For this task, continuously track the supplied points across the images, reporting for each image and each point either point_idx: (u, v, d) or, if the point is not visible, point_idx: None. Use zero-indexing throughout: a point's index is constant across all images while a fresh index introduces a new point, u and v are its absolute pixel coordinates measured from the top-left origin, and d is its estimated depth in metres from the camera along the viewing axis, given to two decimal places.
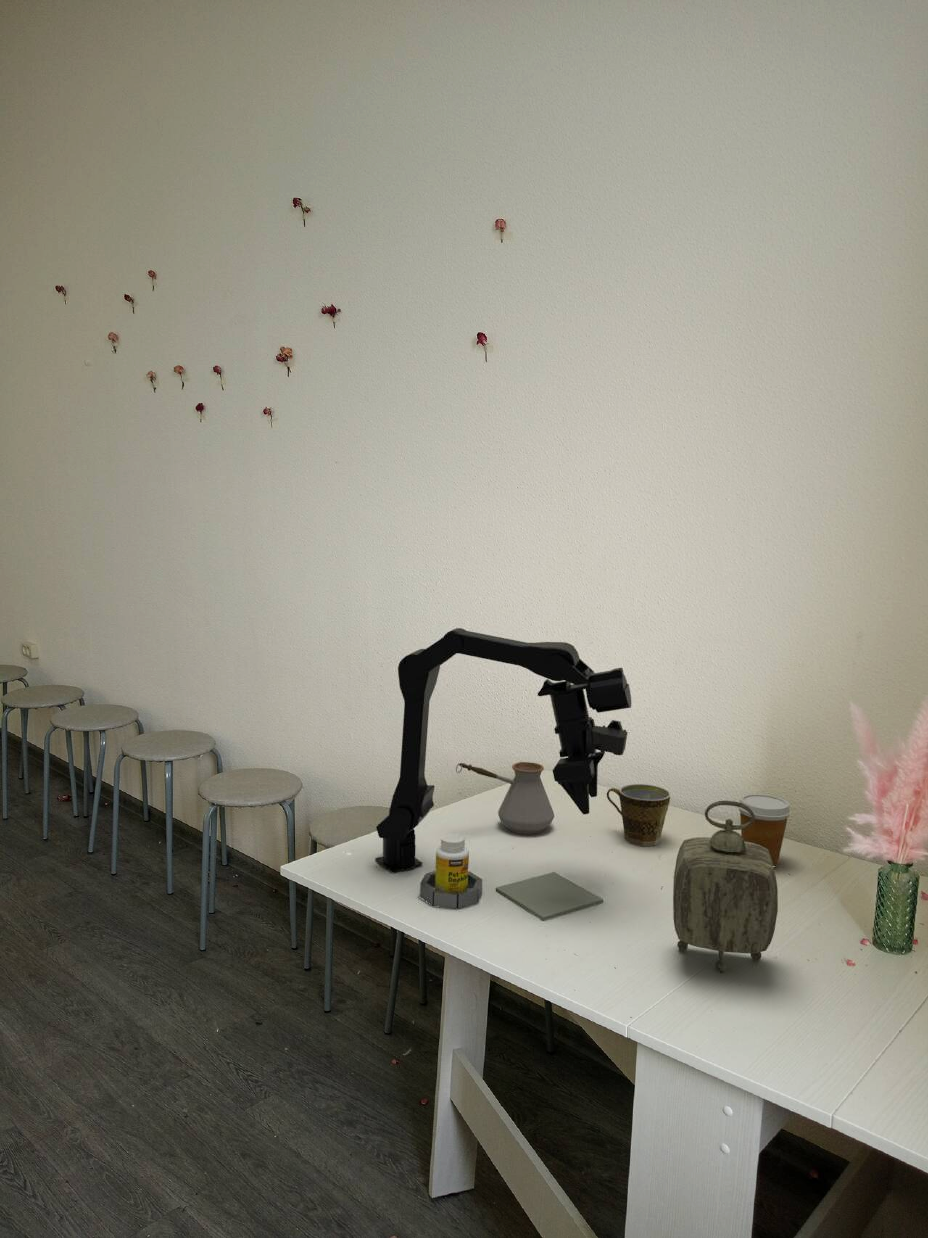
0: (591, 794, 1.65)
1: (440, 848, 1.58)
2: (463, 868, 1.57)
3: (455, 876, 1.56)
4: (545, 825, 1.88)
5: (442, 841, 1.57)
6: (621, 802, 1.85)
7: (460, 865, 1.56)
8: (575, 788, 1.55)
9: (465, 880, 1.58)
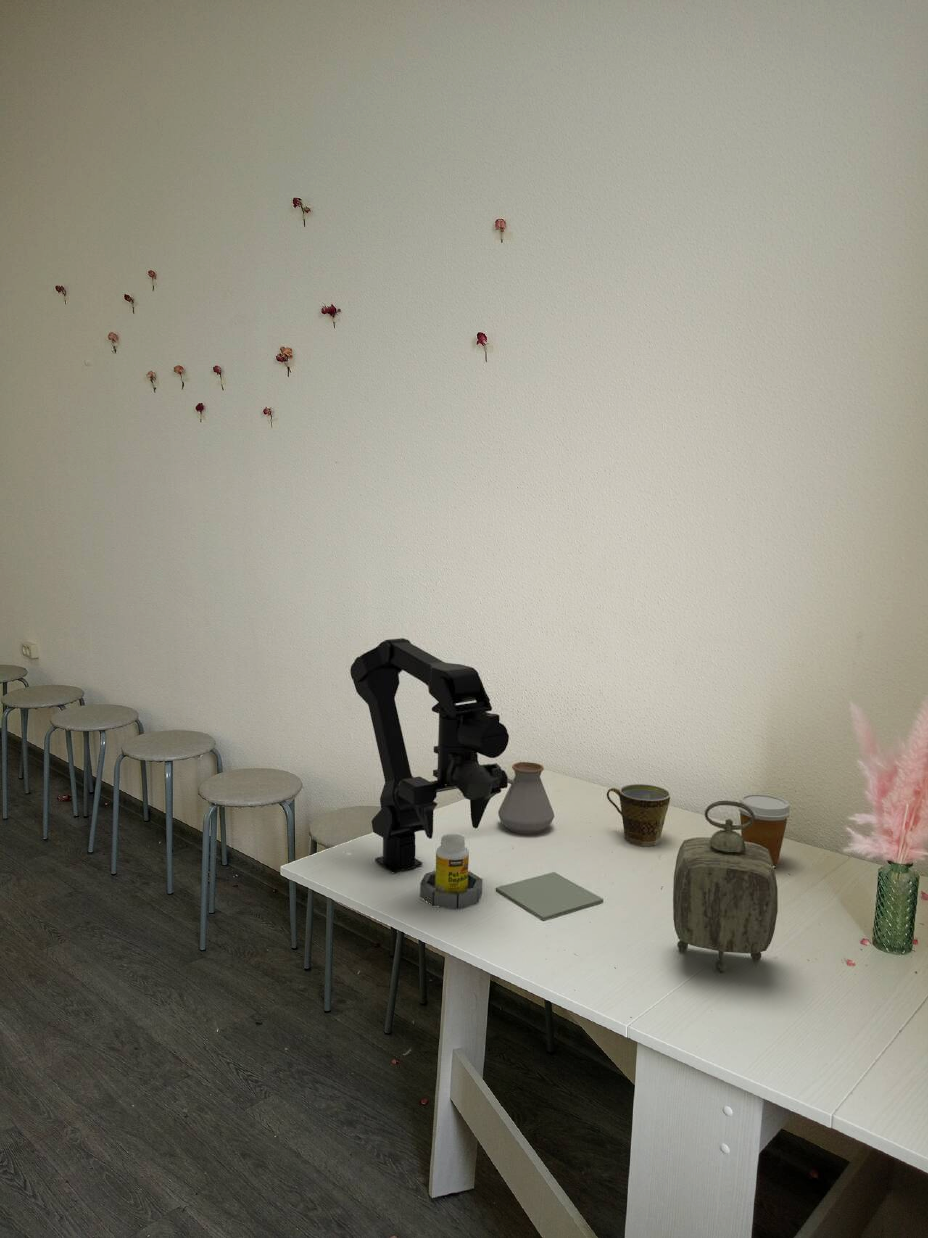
0: (473, 824, 1.61)
1: (440, 848, 1.58)
2: (463, 868, 1.57)
3: (455, 876, 1.56)
4: (545, 825, 1.88)
5: (442, 841, 1.57)
6: (621, 802, 1.85)
7: (460, 865, 1.56)
8: (422, 810, 1.55)
9: (465, 880, 1.58)
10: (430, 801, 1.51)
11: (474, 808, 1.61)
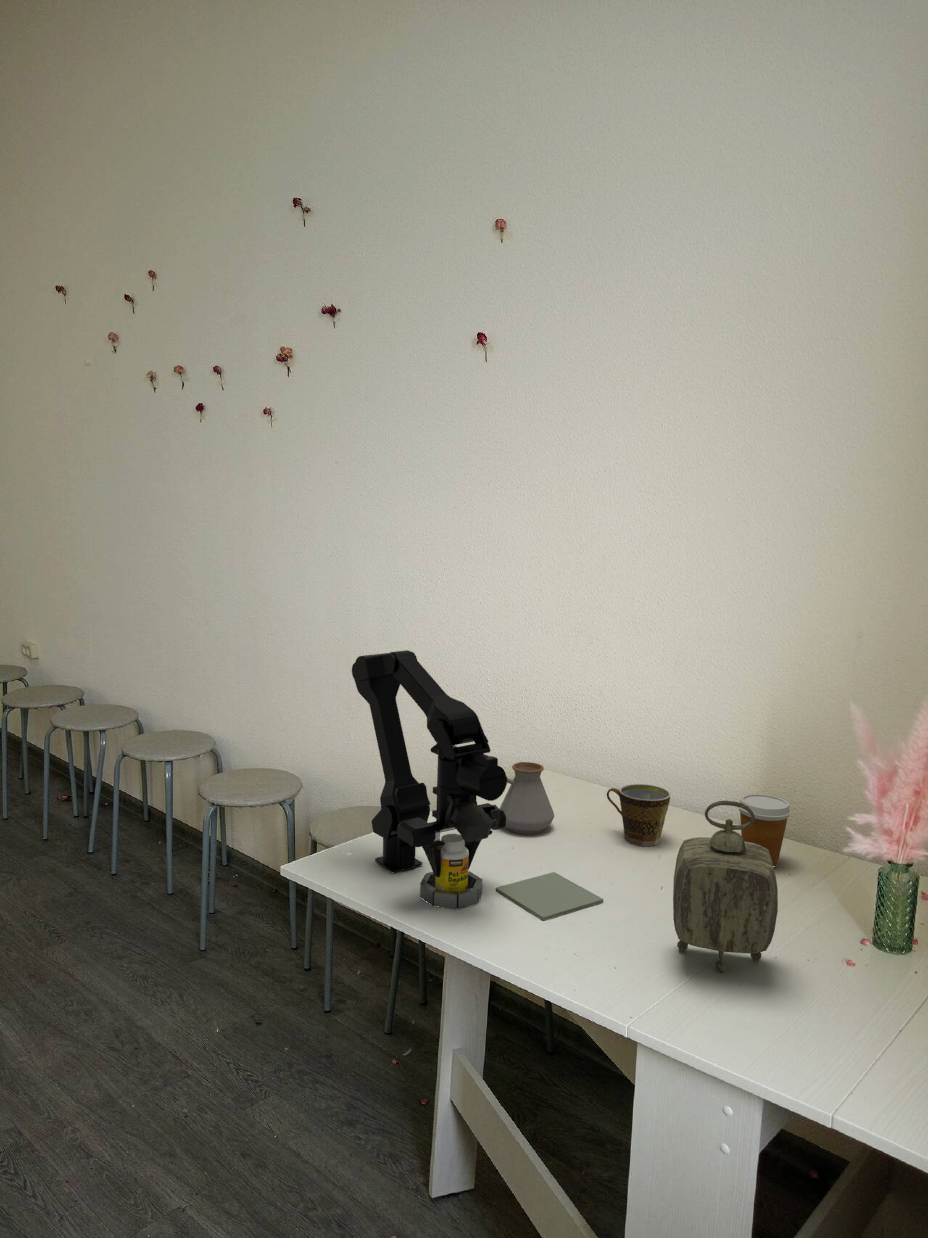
0: None
1: None
2: (463, 868, 1.57)
3: (455, 876, 1.56)
4: (545, 825, 1.88)
5: (442, 841, 1.57)
6: (621, 802, 1.85)
7: (460, 864, 1.56)
8: (429, 849, 1.57)
9: (465, 880, 1.58)
10: (429, 843, 1.52)
11: None
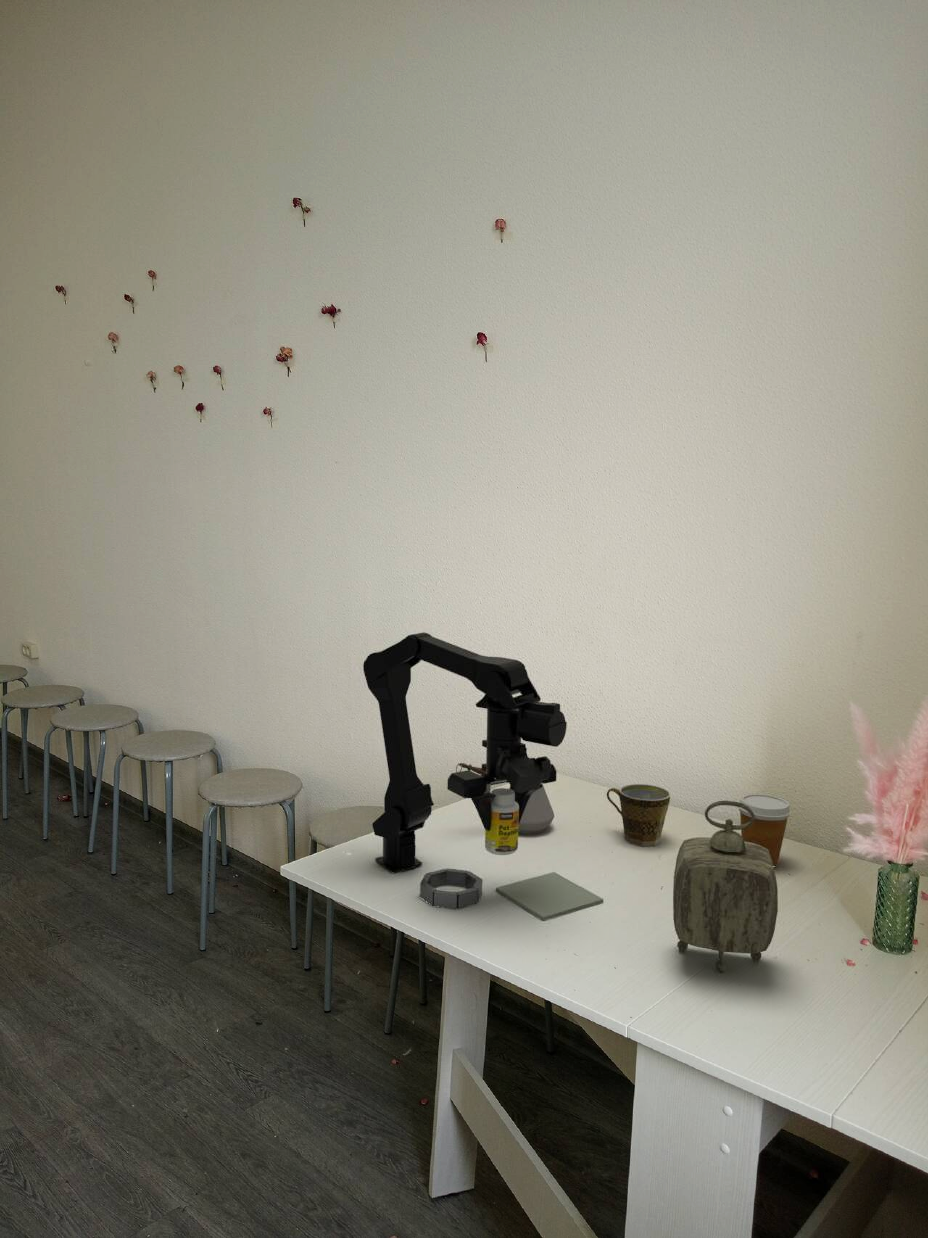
0: None
1: None
2: (514, 822, 1.55)
3: (505, 829, 1.55)
4: (545, 825, 1.88)
5: None
6: (621, 802, 1.85)
7: (511, 818, 1.55)
8: (479, 802, 1.55)
9: (516, 834, 1.56)
10: (480, 794, 1.51)
11: None
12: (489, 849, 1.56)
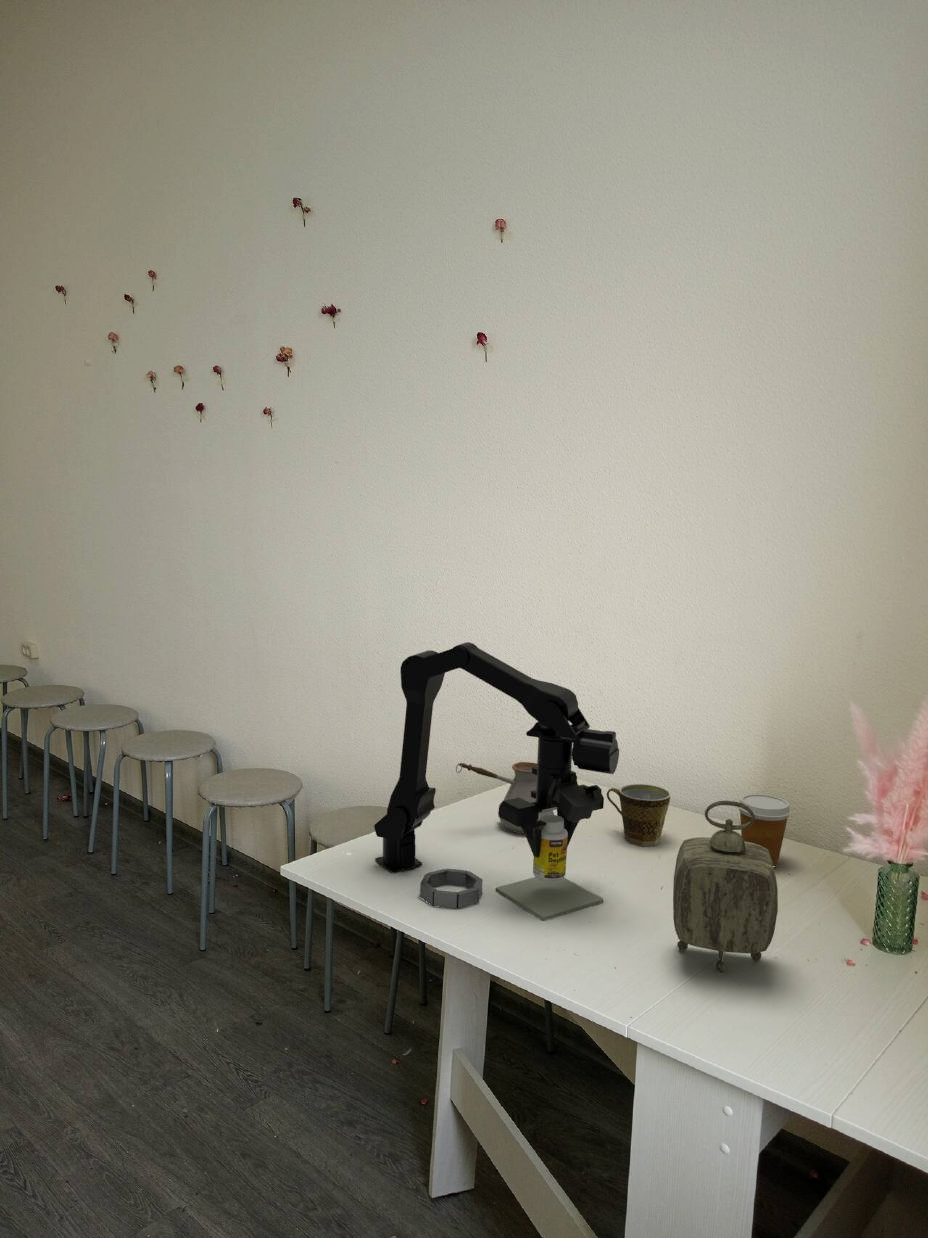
0: None
1: None
2: (563, 849, 1.57)
3: (555, 856, 1.56)
4: None
5: None
6: (621, 802, 1.85)
7: (560, 845, 1.56)
8: (529, 829, 1.57)
9: (564, 861, 1.58)
10: (532, 823, 1.52)
11: None
12: (538, 875, 1.58)
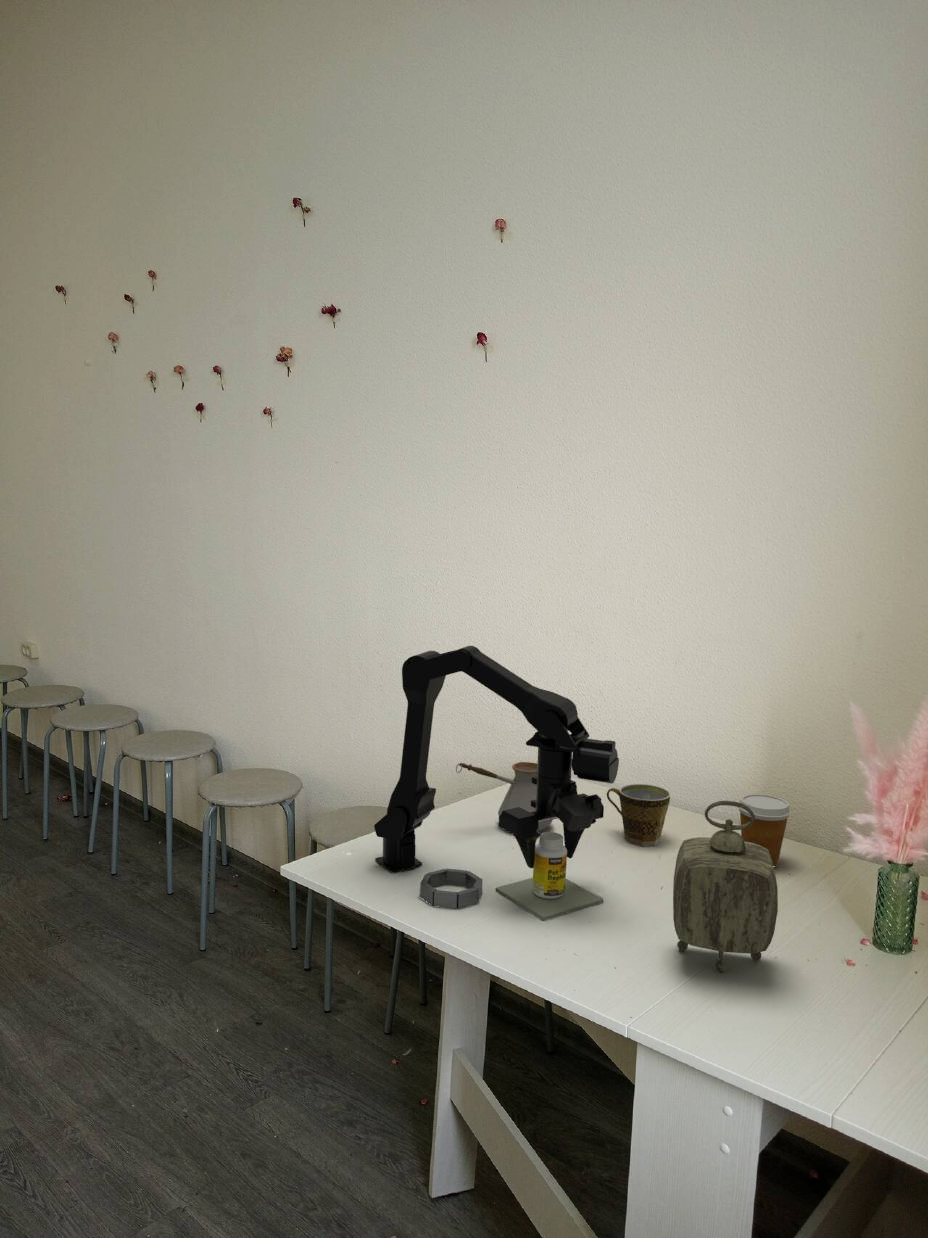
0: (567, 854, 1.62)
1: (538, 846, 1.59)
2: (562, 866, 1.57)
3: (554, 874, 1.57)
4: (545, 825, 1.88)
5: (541, 839, 1.58)
6: (621, 802, 1.85)
7: (560, 863, 1.57)
8: (523, 840, 1.56)
9: (564, 878, 1.58)
10: (532, 832, 1.52)
11: (568, 838, 1.61)
12: (537, 893, 1.58)
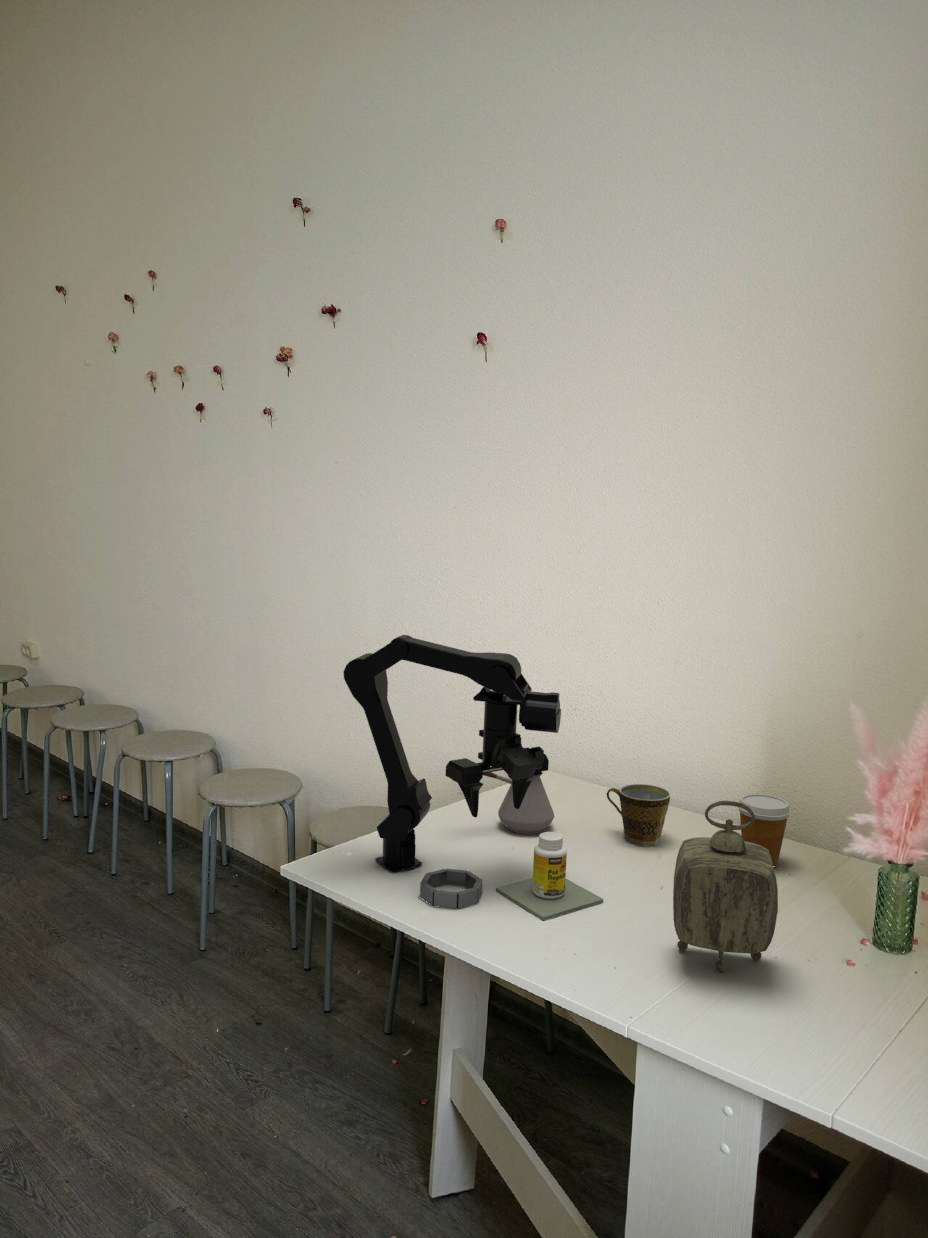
0: (514, 805, 1.69)
1: (538, 846, 1.59)
2: (562, 866, 1.57)
3: (554, 874, 1.57)
4: (545, 825, 1.88)
5: (541, 839, 1.58)
6: (621, 802, 1.85)
7: (560, 862, 1.57)
8: (467, 790, 1.63)
9: (563, 878, 1.58)
10: (476, 781, 1.59)
11: (516, 790, 1.69)
12: (537, 893, 1.58)
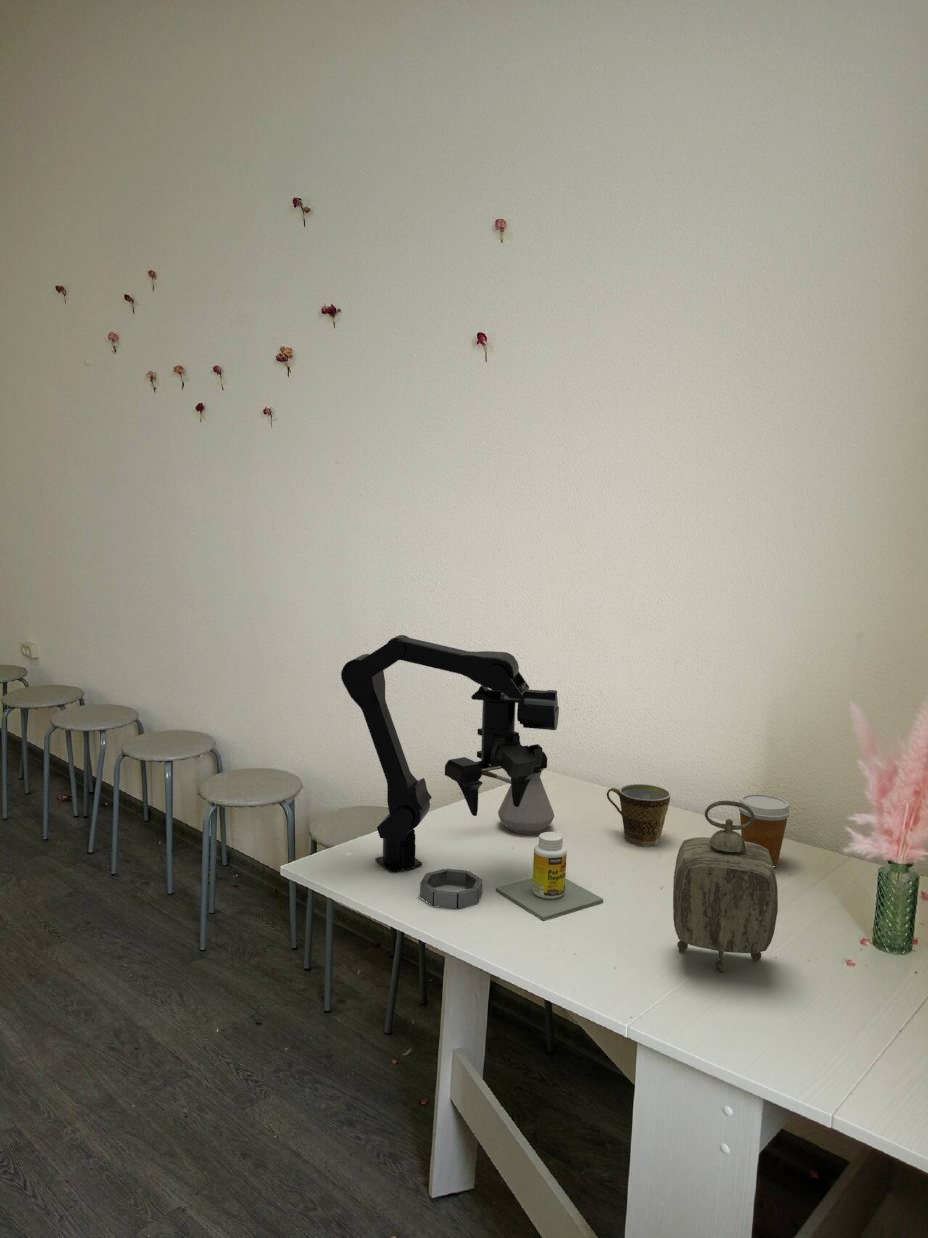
0: (514, 803, 1.69)
1: (538, 846, 1.59)
2: (562, 866, 1.57)
3: (554, 874, 1.57)
4: (545, 825, 1.88)
5: (541, 839, 1.58)
6: (621, 802, 1.85)
7: (559, 862, 1.57)
8: (467, 789, 1.63)
9: (563, 878, 1.58)
10: (476, 780, 1.59)
11: (515, 788, 1.69)
12: (537, 893, 1.58)
